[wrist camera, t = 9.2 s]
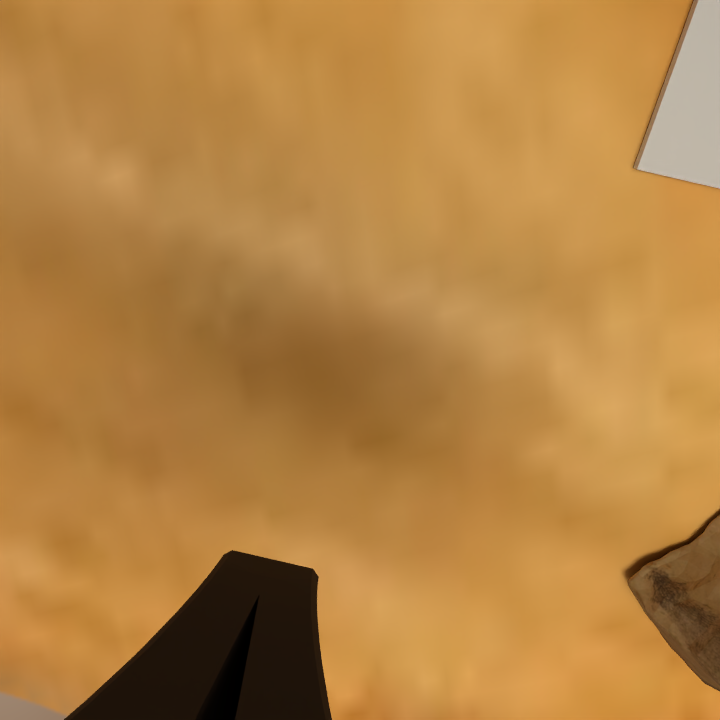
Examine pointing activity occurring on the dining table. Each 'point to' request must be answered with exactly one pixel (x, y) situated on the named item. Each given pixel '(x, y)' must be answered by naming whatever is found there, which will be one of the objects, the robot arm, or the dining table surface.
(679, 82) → the board
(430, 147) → the dining table surface
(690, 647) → the rock
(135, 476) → the dining table surface
